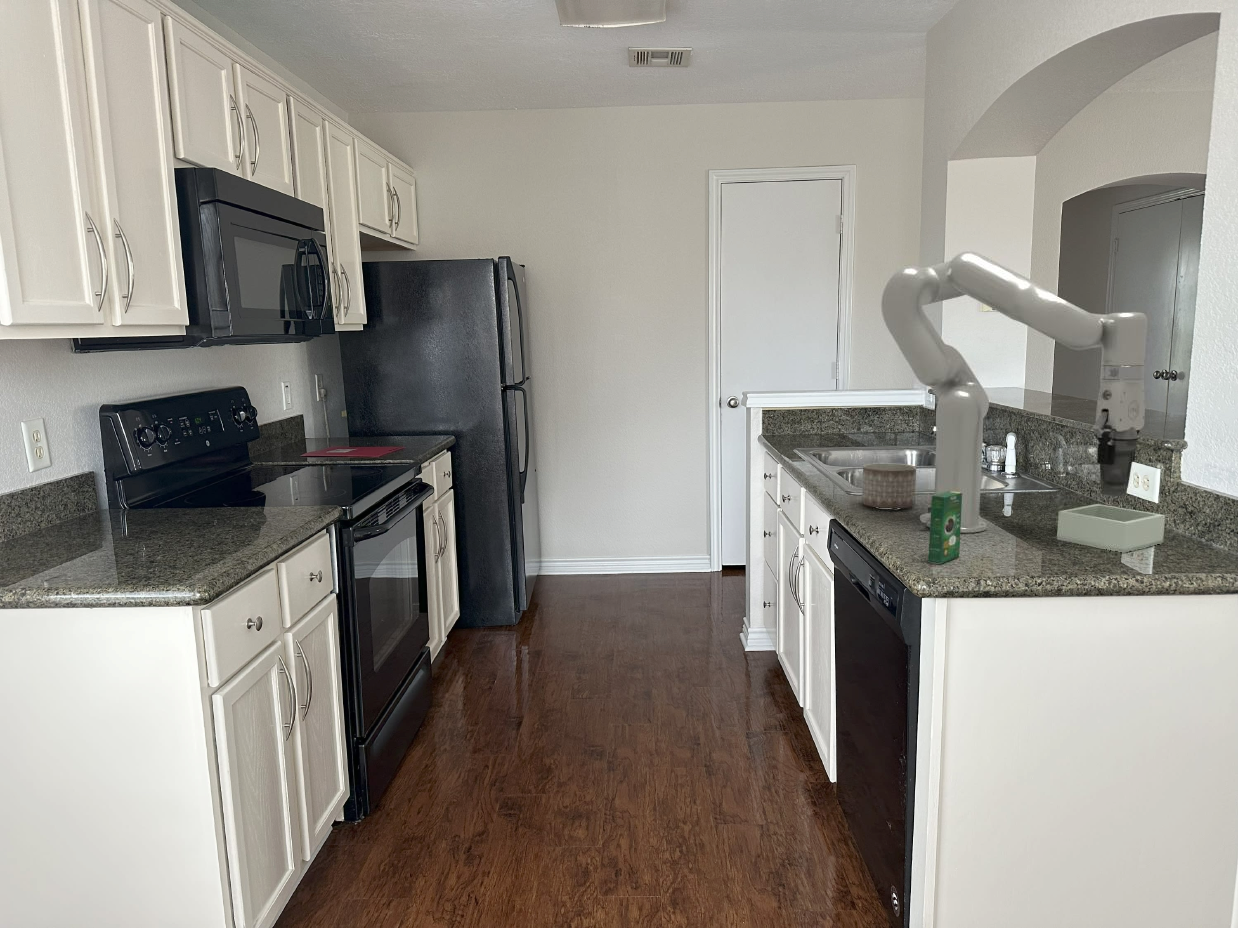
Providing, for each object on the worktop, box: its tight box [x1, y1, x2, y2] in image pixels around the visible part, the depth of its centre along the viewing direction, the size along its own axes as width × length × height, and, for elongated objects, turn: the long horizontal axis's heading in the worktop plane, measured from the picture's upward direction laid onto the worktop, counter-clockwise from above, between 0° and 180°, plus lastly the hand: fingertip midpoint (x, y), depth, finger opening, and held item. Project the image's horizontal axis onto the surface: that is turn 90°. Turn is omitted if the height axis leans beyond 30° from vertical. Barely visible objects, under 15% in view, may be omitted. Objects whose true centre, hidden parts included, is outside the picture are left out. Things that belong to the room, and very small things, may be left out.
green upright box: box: [927, 491, 962, 565], centre depth 164 cm, size 8×3×13 cm, turn 134°
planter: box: [861, 462, 917, 509], centre depth 215 cm, size 13×13×10 cm
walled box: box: [1056, 503, 1166, 554], centre depth 177 cm, size 14×14×6 cm
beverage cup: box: [1099, 427, 1139, 497], centre depth 175 cm, size 7×7×20 cm
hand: (1115, 461), depth 175 cm, fingers closed on beverage cup, 6 cm apart
